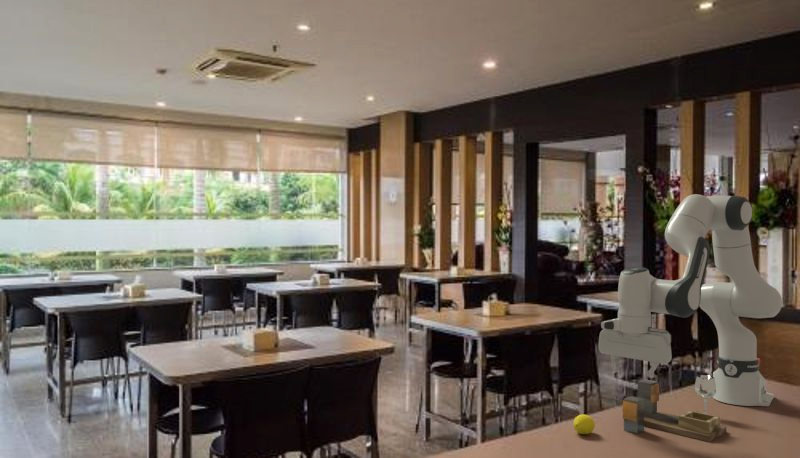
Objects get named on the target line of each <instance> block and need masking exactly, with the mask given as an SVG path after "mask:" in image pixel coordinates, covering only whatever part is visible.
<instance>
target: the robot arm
mask: <svg viewBox="0 0 800 458" xmlns="http://www.w3.org/2000/svg"><path fill="white" fill-rule="evenodd" d="M753 210H754V209H753V206H752V203H751V201H750V200H749V199H748V198H746V197H745V196H740V195H735V194H734V195H721V194H714V195H706V196H705V195H703V194H698V193H697V194H696V193H694V194H690V195H687V196H686V197H684V198H683V200H682V201H681V202H680V204H678V206H677V207H676V209H675V211H674V212H673V213H672V215H671V217H670V219H669V221H668V223H667V224H666V226H665V228H664V229H665V231H664V239H665V241H666V244H668V246H669V247H670V248H671V249H672V250H673V251H675V252H676V254H677V253H678V254H679V255H682V256H684V257H686V258H687V261H686V264H685V267H684V270H683V271H684V272H683V275H682V277H681V278H678V279H675V280H670V279H660V278H657V277H656V276H655V277H654V276H653V275H652V274H650V271H649V269H648V268H646V267H641V266H640V267H639V266H638V267H627V268H625V269H623V270H622V271H621V272H620V275H619V280H618V287H617V299H618V304H619V306H618V311H617V317H616V318H615V317H614V318H612V319H608V320H604V321H601V323H600V327H601V331H600V332H599V336H598V350H599V352H600V353H601V354H602V355H607V356H610V361H611V362H612V364H613V366H614V367H613V368H614V372H617V373H620V372H621V373H622V372H623V365H622V364H620V363H619V360H618V359H619V358H620V357H621V358H627V359H632V360H638V361H644V362H649V366H650V368H649V370H646V371H645V377H646V378H649V379H653V378H654V377H655V371H656V370H657V368H658V366H659V364H664V365H665V364H668V363H669V364H670V362H671V361H672V358H673V356H672V355H673V354H672V347H671V346H672V345H671V343H672V334H671V333H670V332H669V331H667V330H666V329H665V328H657V327H652V313H656V314H665V315H671V316H673V317H674V316H675V317H679V318H684V319H685V318H689V317H691V316H692V315H693V314H694V313H696V312H697V310H698V309H699V308H700V309H701V310H702V311H703V312H705V313H706V315H707V316H709V318H710V319H711V321H712V322H713V324H714V326H715V328H716V331H717V340H718V356H717V359H716V363H717V364H716V365H717V367H718V368H717V369H715V370H714V371H713V373H712V377H714V379H715V383H716V393H715V395H714V396H713V397H712V398H713V399H714V400H716V401H718V402H721V403H725V404H728V405H736V406H741V407H742V406H743V407H745V406H746V407H757V406H758V407H770V405H771V403H772V402H773V400H774V398H775V397H774V394H773V393H771V392H767V380H766V379H765V377H764V376H763V375H762V374H761V372H760V371H759V370H760V364H761V358H759V357H758V356H757V355H758V352H757V351H758V347H757V346H758V345H757V343H758V341H757V340H758V339H757V336H756V335H755V333H754V332H753V331H752V330H750V329H749V328H747V327H745V325H743V324H742V322H741V321H740V318H739V317H742V318H752V319H767V318H774V317H776V316H777V315H778V314H779V313H780V311H781V310H782V306H783V299H782V295H781V293H780V292H779V290H777V288H775V287H773V286H772V285H770V284H769V283H768V282H767V281H766V280H765V279H764V278H763V277H762V276H761V275H760V273H759V271H758V269H757V268H756V265H755V261H754V257H753V251H752V242H751V234H750V230H749V225H750V223H751V222H752V219H753V215H754V214H753V213H754V211H753ZM708 231H711V237H712V239H711V241H712V250H713V251H712V252H713V258H714V265H715V268H716V269H717V270H718V272H720V273H721V274H723V275H725V276H727V277H728V278H730V280H731V281H732V282H725V281H717V282H716V281H713V282H706V283H704V278H705V275H706V271H707V267H708V262H709V259H710V252H711V251H710V249H711V246H710V243H709V241H708V240H707V238H706V236H707V234H708ZM651 312H652V313H651Z"/></svg>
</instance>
